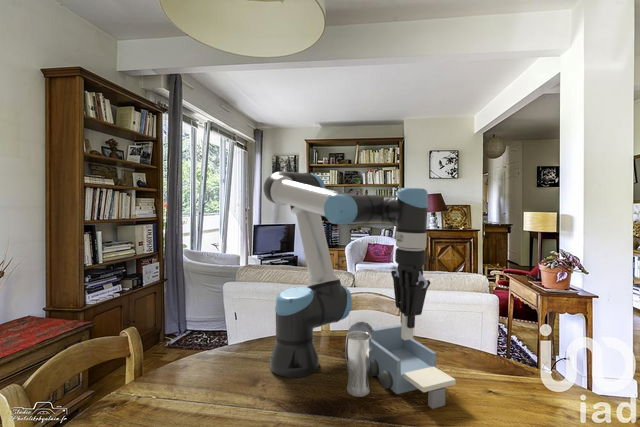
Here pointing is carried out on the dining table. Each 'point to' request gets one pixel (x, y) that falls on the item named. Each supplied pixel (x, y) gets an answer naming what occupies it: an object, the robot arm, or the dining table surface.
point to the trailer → (401, 362)
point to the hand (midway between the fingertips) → (407, 338)
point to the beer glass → (358, 362)
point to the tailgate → (429, 379)
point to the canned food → (361, 328)
